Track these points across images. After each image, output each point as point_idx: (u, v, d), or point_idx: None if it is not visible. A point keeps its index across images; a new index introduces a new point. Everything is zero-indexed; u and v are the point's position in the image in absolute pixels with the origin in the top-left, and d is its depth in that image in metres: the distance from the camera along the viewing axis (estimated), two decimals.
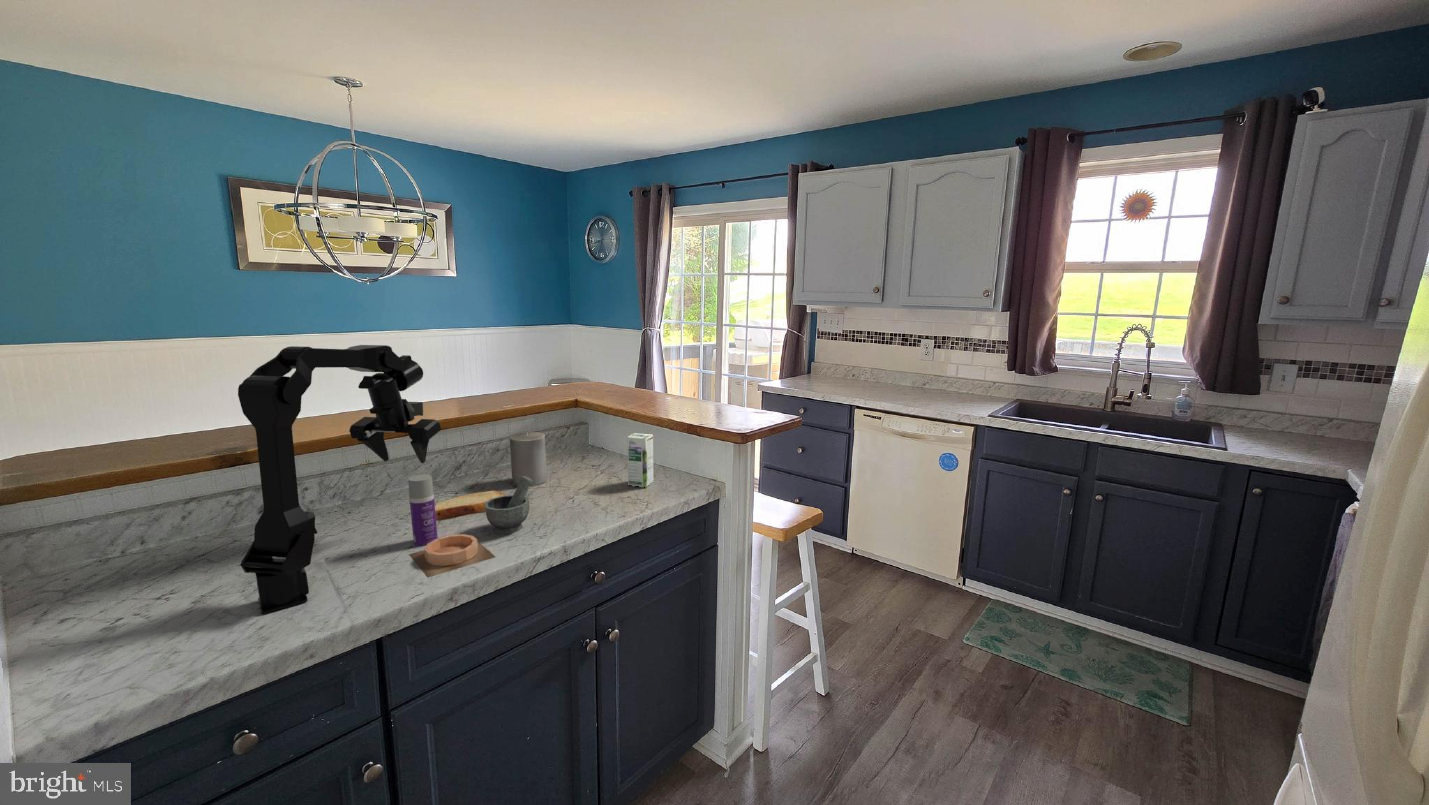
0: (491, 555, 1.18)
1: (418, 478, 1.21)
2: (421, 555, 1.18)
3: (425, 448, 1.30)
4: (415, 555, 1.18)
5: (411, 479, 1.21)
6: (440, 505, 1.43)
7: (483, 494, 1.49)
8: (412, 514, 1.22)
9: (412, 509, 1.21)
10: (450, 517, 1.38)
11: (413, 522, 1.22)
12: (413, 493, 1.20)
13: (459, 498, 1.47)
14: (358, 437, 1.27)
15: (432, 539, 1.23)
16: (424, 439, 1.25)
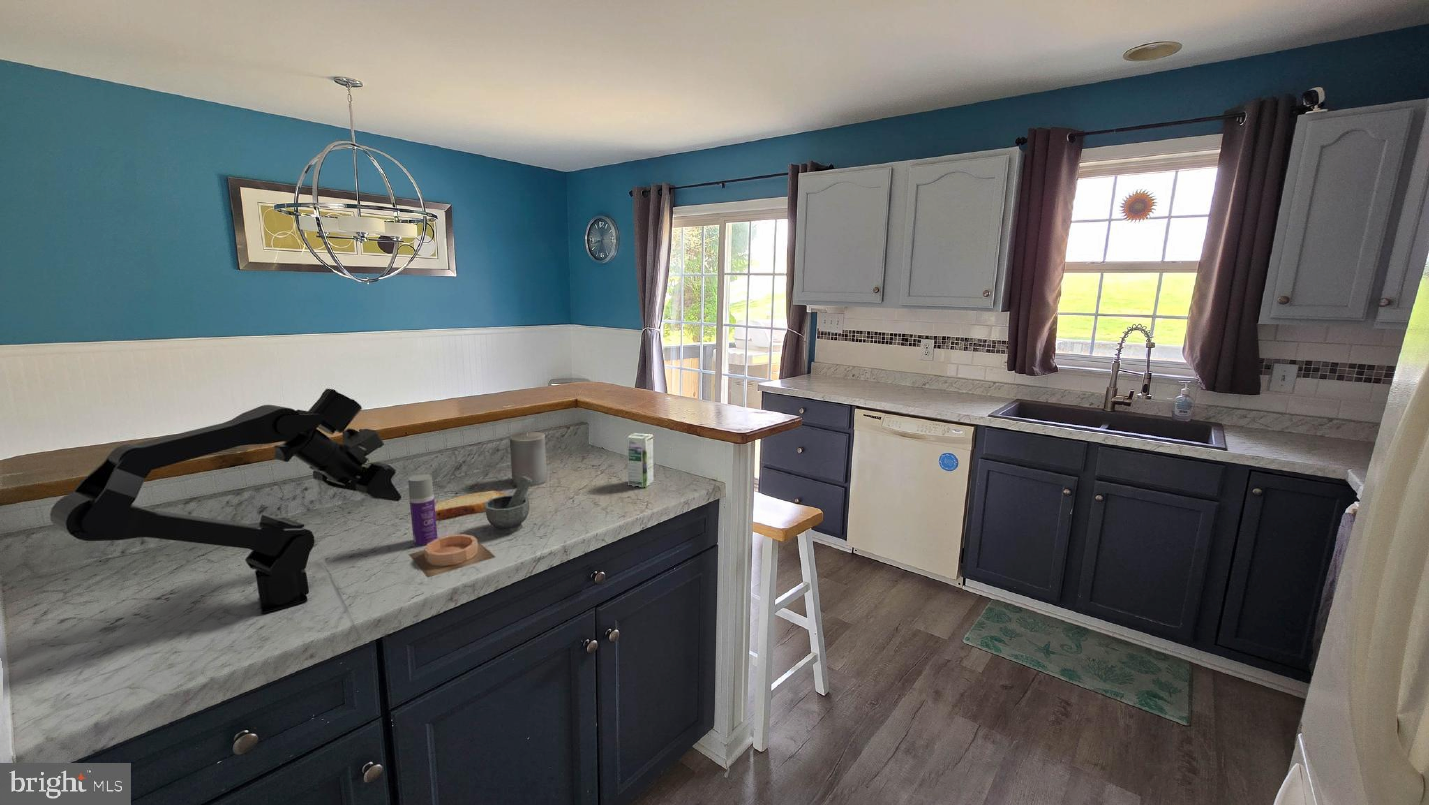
0: (491, 555, 1.18)
1: (418, 478, 1.21)
2: (421, 555, 1.18)
3: (391, 489, 1.11)
4: (415, 555, 1.18)
5: (411, 479, 1.21)
6: (440, 505, 1.43)
7: (483, 494, 1.49)
8: (412, 514, 1.22)
9: (412, 509, 1.21)
10: (450, 517, 1.38)
11: (413, 522, 1.22)
12: (413, 493, 1.20)
13: (459, 498, 1.47)
14: (324, 483, 1.12)
15: (432, 539, 1.23)
16: (373, 496, 1.05)
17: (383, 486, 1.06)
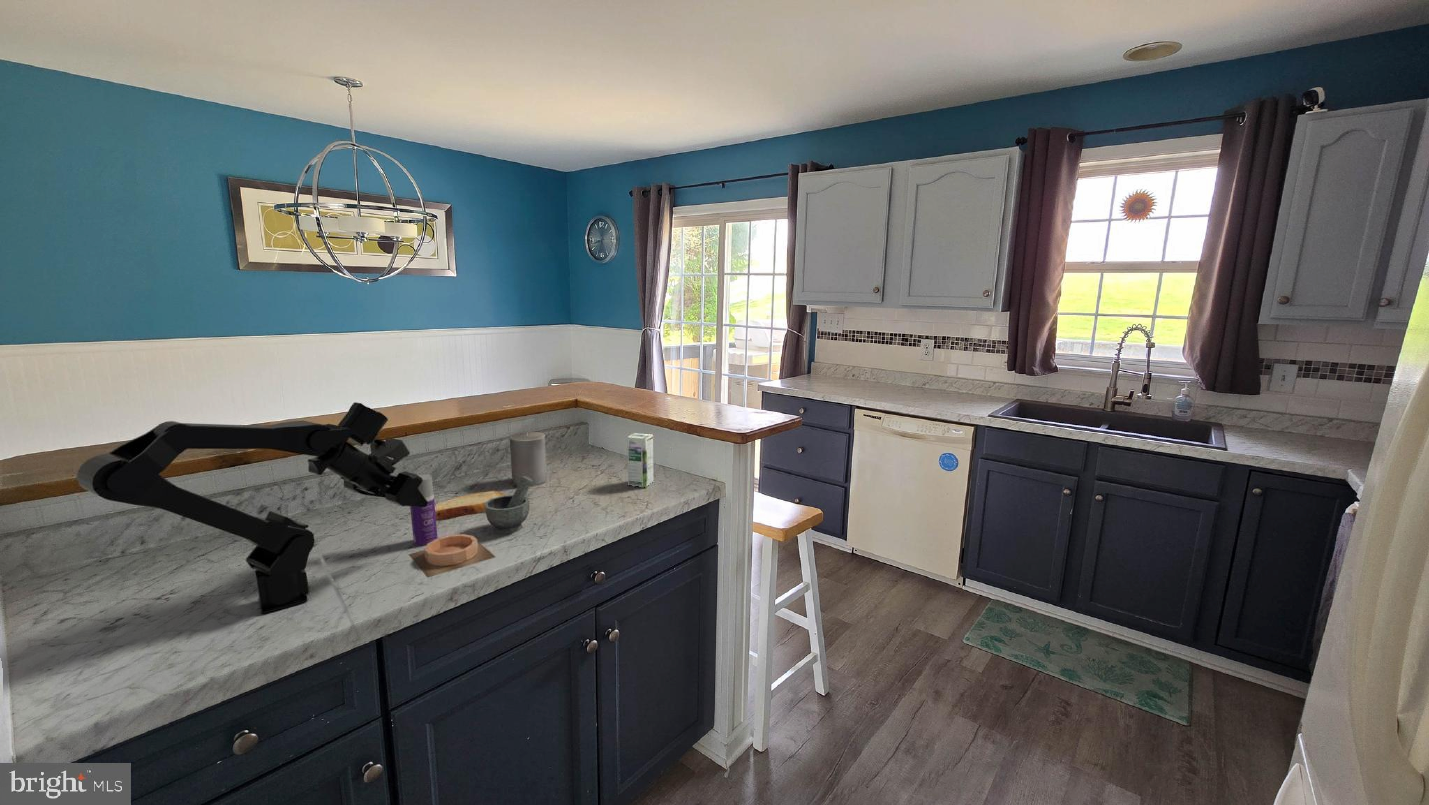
0: (491, 555, 1.18)
1: None
2: (421, 555, 1.18)
3: (419, 496, 1.16)
4: (415, 555, 1.18)
5: None
6: (440, 505, 1.42)
7: (483, 494, 1.49)
8: (412, 514, 1.22)
9: (412, 509, 1.21)
10: (450, 517, 1.38)
11: (413, 522, 1.22)
12: None
13: (459, 499, 1.47)
14: (355, 491, 1.17)
15: (432, 539, 1.23)
16: (402, 505, 1.10)
17: (411, 494, 1.11)
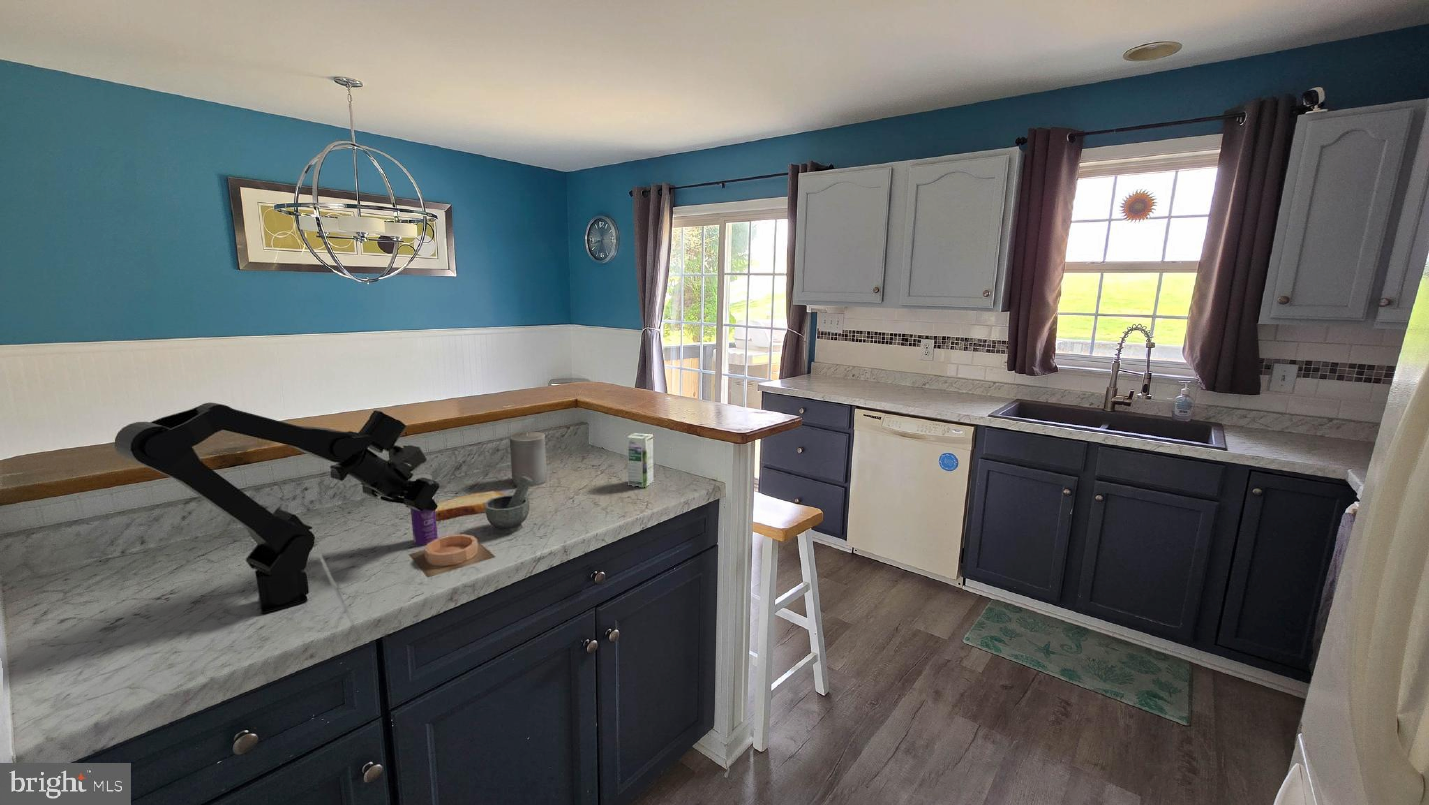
0: (491, 555, 1.18)
1: (418, 478, 1.21)
2: (421, 555, 1.18)
3: None
4: (415, 555, 1.18)
5: (411, 479, 1.21)
6: (440, 505, 1.42)
7: (483, 494, 1.49)
8: (412, 514, 1.22)
9: (412, 509, 1.21)
10: (450, 518, 1.38)
11: (413, 522, 1.22)
12: None
13: (459, 499, 1.47)
14: (373, 496, 1.21)
15: (432, 539, 1.23)
16: (420, 510, 1.13)
17: (429, 500, 1.14)
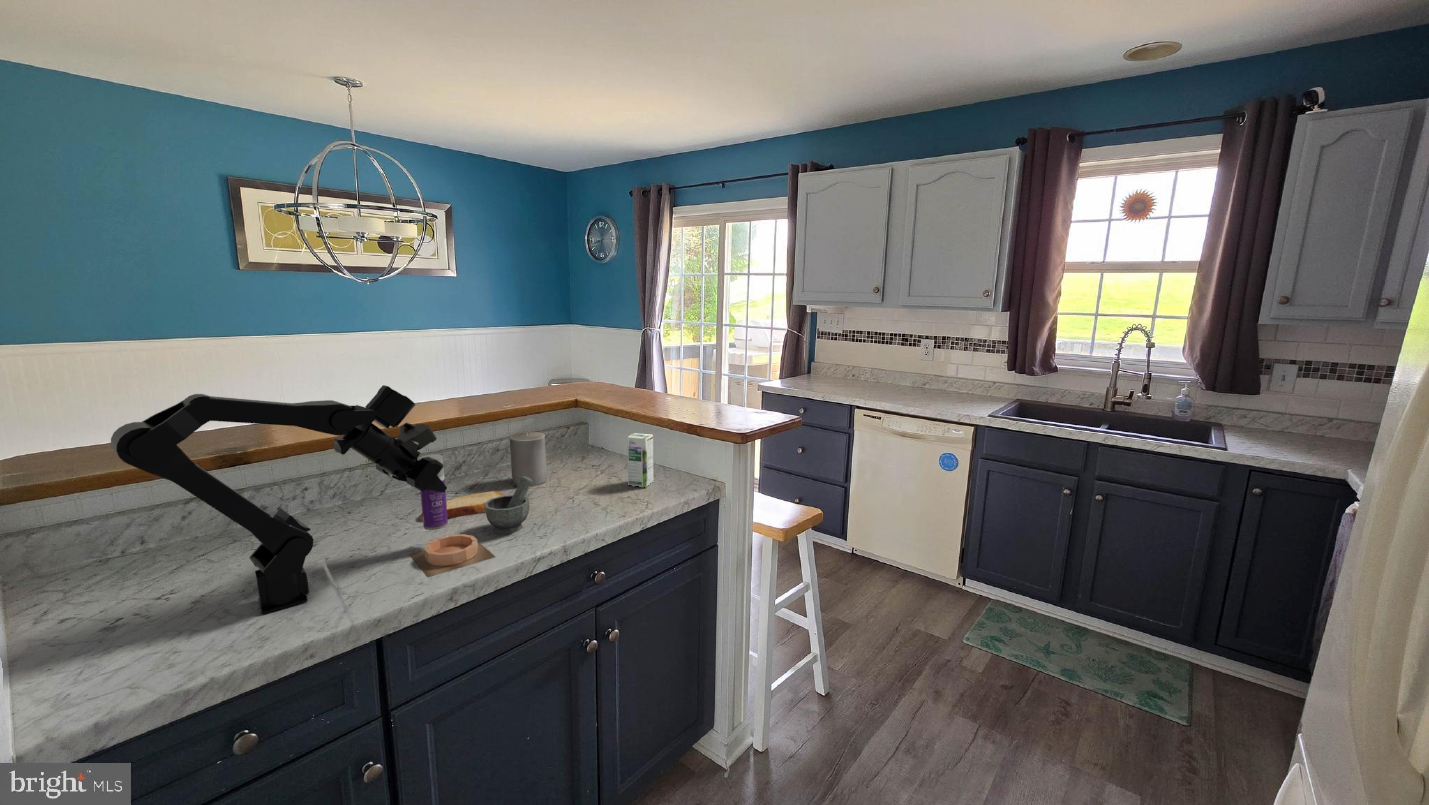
0: (491, 555, 1.18)
1: None
2: (421, 555, 1.18)
3: (436, 481, 1.17)
4: (415, 555, 1.18)
5: None
6: None
7: (483, 494, 1.49)
8: (421, 494, 1.18)
9: None
10: (450, 518, 1.38)
11: (422, 503, 1.19)
12: None
13: (459, 499, 1.47)
14: (385, 474, 1.19)
15: (440, 522, 1.20)
16: (421, 490, 1.09)
17: (430, 480, 1.10)
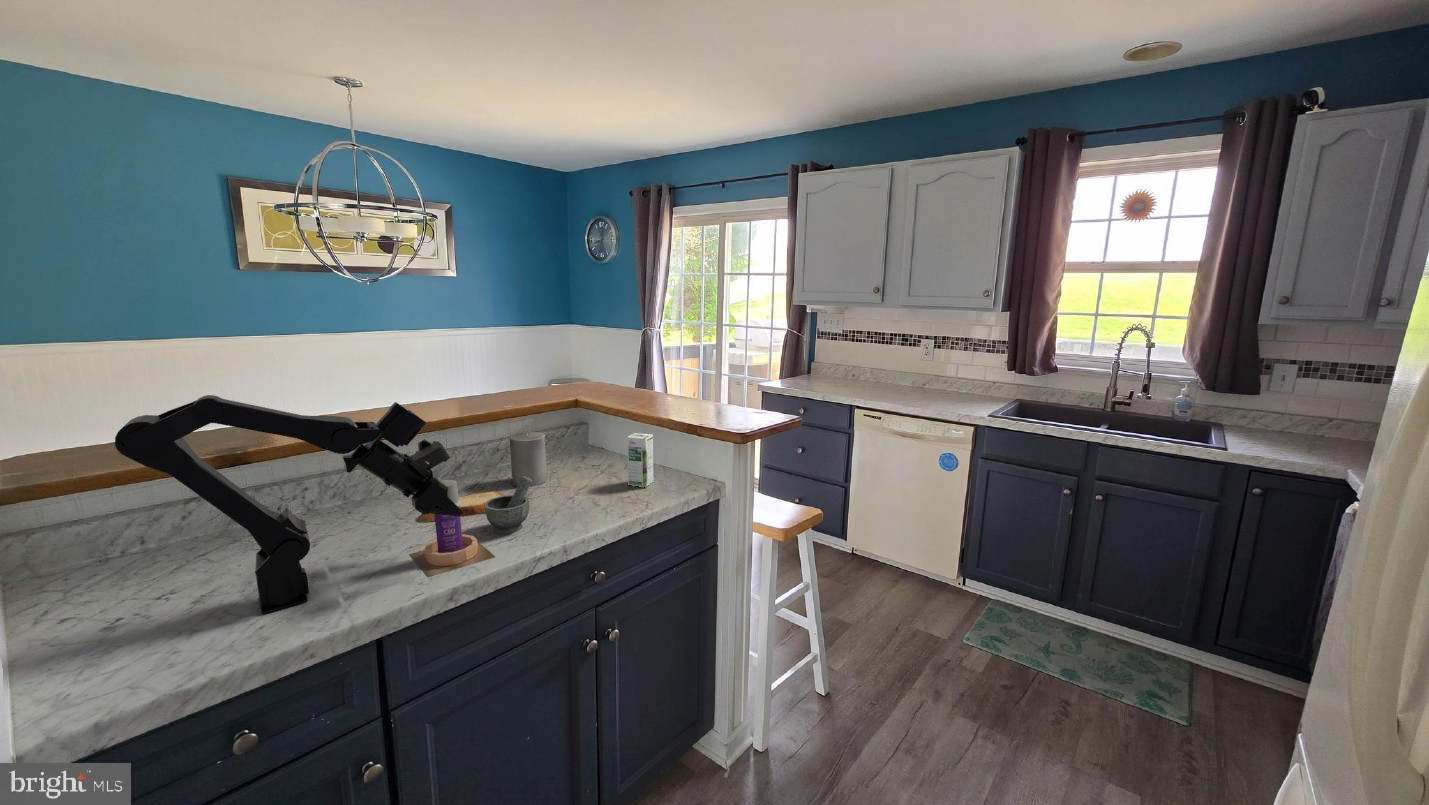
0: (491, 555, 1.18)
1: None
2: (421, 555, 1.18)
3: (450, 505, 1.11)
4: (415, 555, 1.18)
5: None
6: None
7: (483, 495, 1.49)
8: (435, 521, 1.15)
9: (435, 516, 1.15)
10: None
11: (436, 529, 1.15)
12: None
13: (459, 499, 1.46)
14: None
15: (453, 550, 1.16)
16: (422, 513, 1.05)
17: (432, 503, 1.05)
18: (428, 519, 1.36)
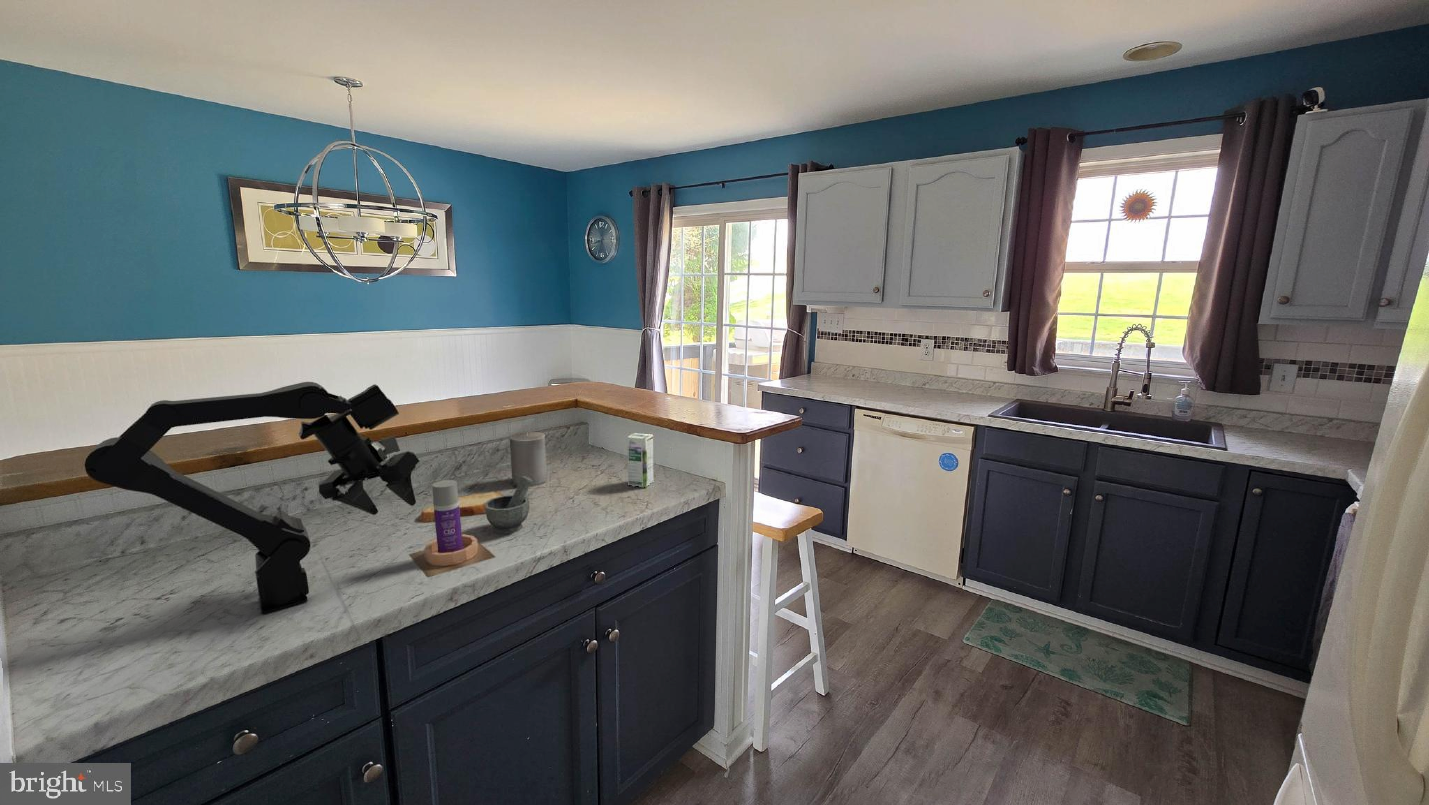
0: (491, 555, 1.18)
1: (442, 484, 1.14)
2: (421, 555, 1.18)
3: (409, 487, 1.08)
4: (415, 555, 1.18)
5: (435, 484, 1.14)
6: None
7: (484, 495, 1.48)
8: (435, 521, 1.15)
9: (434, 515, 1.15)
10: None
11: (436, 529, 1.15)
12: (434, 499, 1.13)
13: (460, 499, 1.46)
14: (331, 496, 1.06)
15: (453, 550, 1.16)
16: (398, 477, 1.02)
17: (408, 469, 1.04)
18: (427, 520, 1.36)
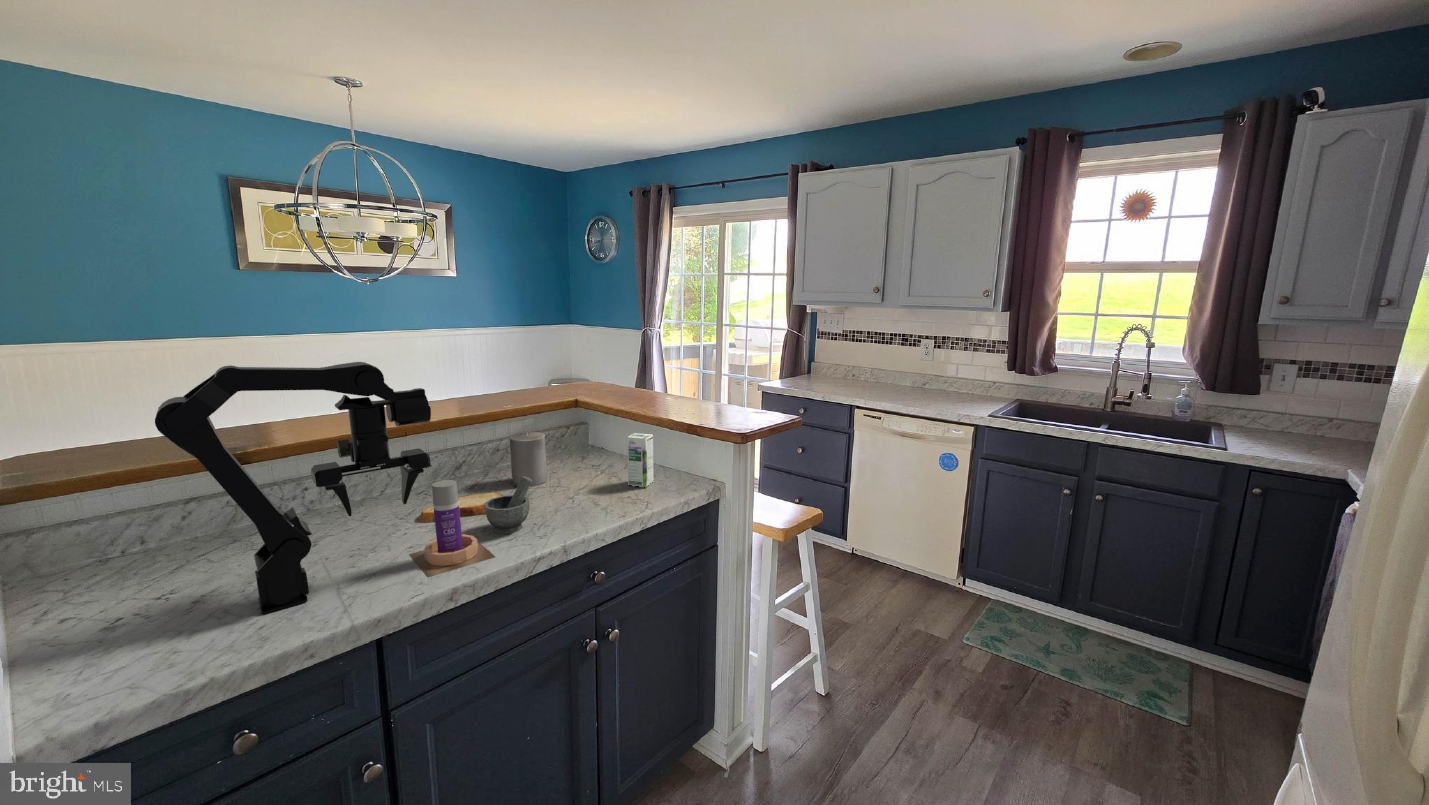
0: (491, 555, 1.18)
1: (441, 484, 1.14)
2: (421, 555, 1.18)
3: None
4: (415, 555, 1.18)
5: (434, 484, 1.14)
6: None
7: (484, 495, 1.48)
8: (435, 521, 1.15)
9: (434, 516, 1.15)
10: None
11: (436, 529, 1.15)
12: (434, 499, 1.14)
13: (460, 500, 1.46)
14: (332, 483, 1.01)
15: (453, 550, 1.16)
16: (428, 464, 1.11)
17: None
18: (427, 520, 1.36)
